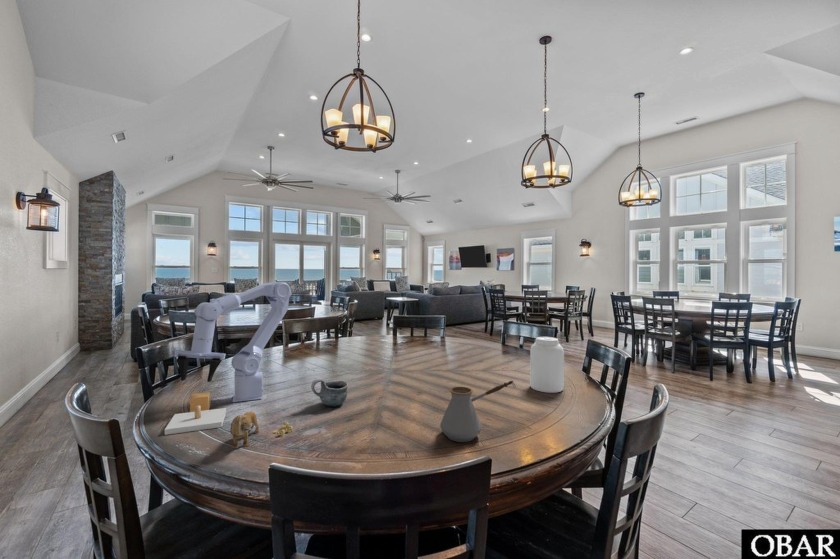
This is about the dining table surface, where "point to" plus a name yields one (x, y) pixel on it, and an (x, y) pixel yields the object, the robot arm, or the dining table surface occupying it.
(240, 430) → the lion figurine
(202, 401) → the orange cube
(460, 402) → the coffee pot
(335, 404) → the mug
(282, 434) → the dice set
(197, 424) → the plate
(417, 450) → the dining table surface
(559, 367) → the white jar
